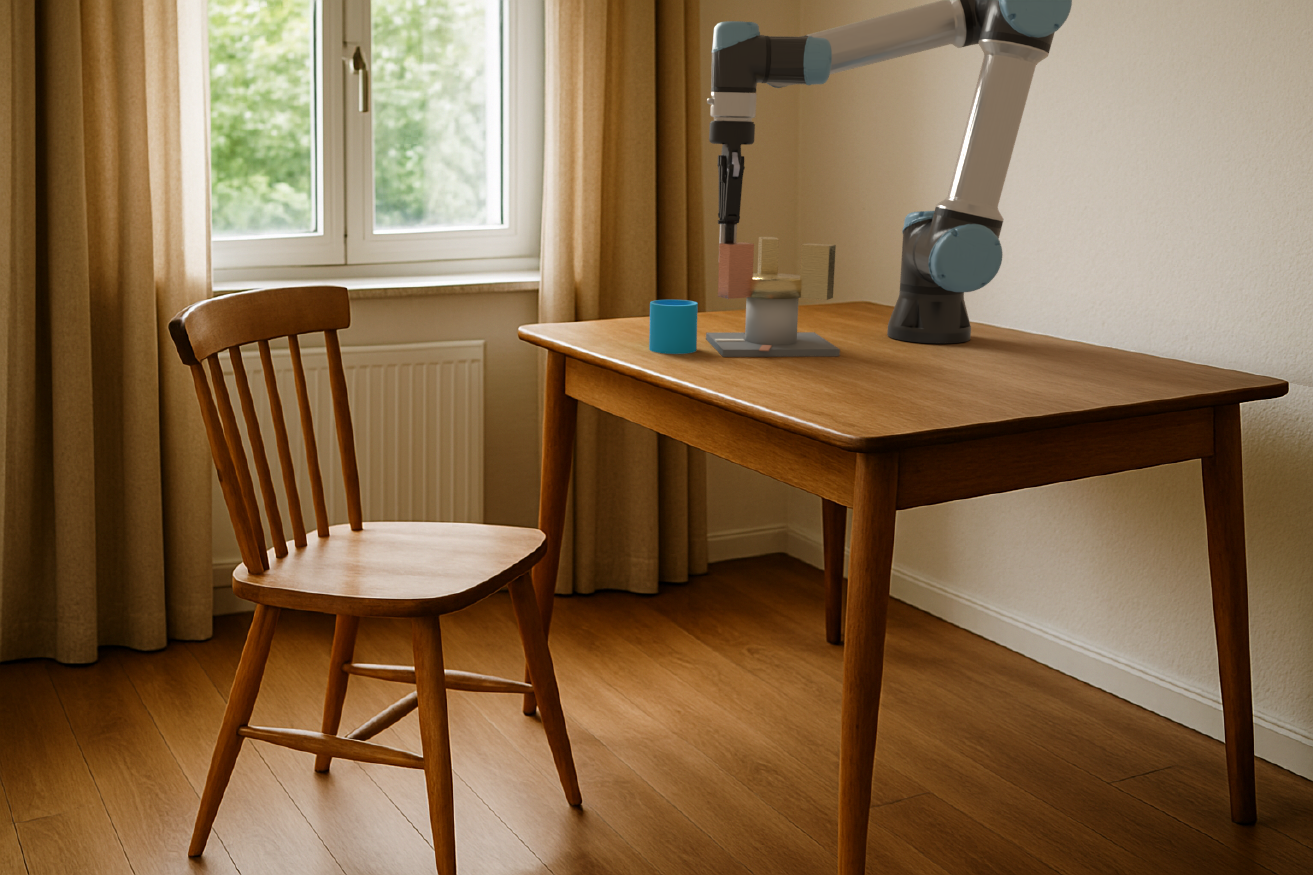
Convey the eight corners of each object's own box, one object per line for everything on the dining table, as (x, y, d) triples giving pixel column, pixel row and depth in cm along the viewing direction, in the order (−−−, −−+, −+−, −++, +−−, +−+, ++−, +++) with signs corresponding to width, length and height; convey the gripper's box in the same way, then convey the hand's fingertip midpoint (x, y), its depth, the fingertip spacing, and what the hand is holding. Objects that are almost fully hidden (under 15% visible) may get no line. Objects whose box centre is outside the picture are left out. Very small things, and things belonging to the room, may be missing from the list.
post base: (814, 338, 229) (816, 289, 227) (842, 358, 210) (845, 304, 208) (706, 339, 226) (707, 289, 224) (724, 358, 207) (726, 304, 205)
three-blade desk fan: (768, 286, 228) (770, 236, 226) (838, 299, 212) (841, 245, 210) (690, 291, 219) (691, 239, 217) (757, 305, 203) (759, 249, 201)
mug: (704, 352, 213) (705, 305, 211) (660, 355, 210) (661, 306, 208) (676, 341, 224) (677, 296, 222) (634, 343, 221) (634, 297, 219)
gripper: (704, 119, 213) (700, 257, 219) (715, 119, 201) (710, 266, 207) (748, 120, 214) (742, 258, 220) (761, 120, 201) (755, 267, 207)
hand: (727, 262), depth 213 cm, fingers closed
